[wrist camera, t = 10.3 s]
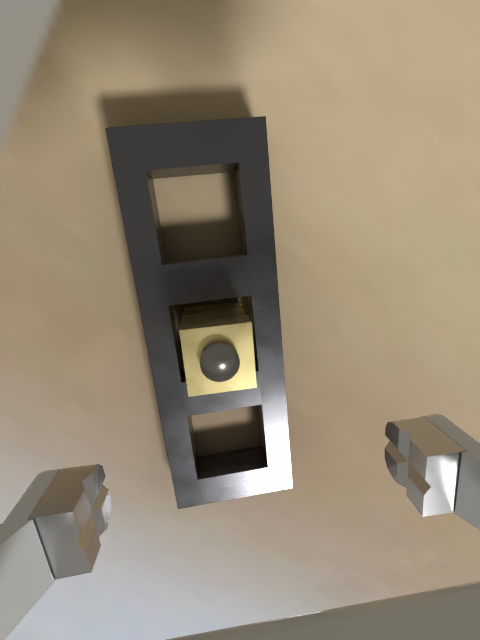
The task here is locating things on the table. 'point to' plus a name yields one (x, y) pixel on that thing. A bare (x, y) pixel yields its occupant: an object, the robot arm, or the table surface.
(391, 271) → the table surface
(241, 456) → the grey flat slotted block
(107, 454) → the table surface
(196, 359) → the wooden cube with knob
